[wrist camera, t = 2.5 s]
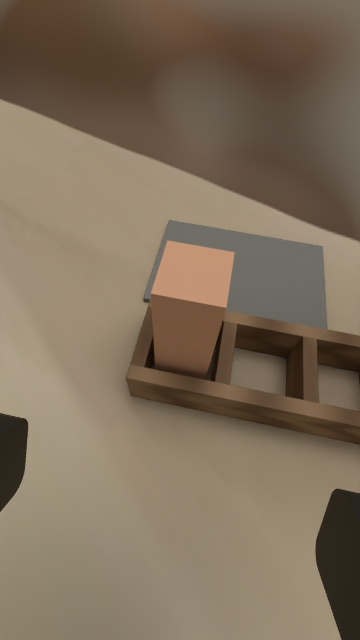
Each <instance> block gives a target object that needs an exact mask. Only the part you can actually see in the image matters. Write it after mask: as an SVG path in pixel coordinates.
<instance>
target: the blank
mask: <svg viewBox="0 0 360 640" xmlns="http://www.w3.org/2000/svg"><path fill="white" fill-rule="evenodd" d="M234 254H235V252H231V251H225V250H219V249H213V248H208V247H202V246H196V245H191V244H185V243H179V242H174V241H168V240H167V243H166V247H165V250H164V253H163V256H162V259H161V263H160V266H159V269H158V272H157V275H156V278H155V282H154V285H153V288H152V291H151V306H152V322H153V338H154V354H155V370H160V371H165V372H169V373H174V374H179V375H184V376H189V377H194V378H199V379H203V380H205V379H206V375H207V372H208V368H209V365H210V362H211V358H212V355H213V351H214V348H215V345H216V341H217V338H218V335H219V331H220V328H221V324H222V321H223V318H224V314H225V311H226V307H227V300H228V294H229V287H230V280H231V274H232V267H233V260H234Z"/></svg>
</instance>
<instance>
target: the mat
mask: <svg viewBox="0 0 360 640" xmlns="http://www.w3.org/2000/svg"><path fill="white" fill-rule="evenodd" d="M167 240H168V241H174V242H179V243H185V244H191V245H196V246H202V247H208V248H213V249H219V250H225V251H231V252H235V254H234V260H233V267H232V274H231V280H230V287H229V294H228V300H227V307H226V311H231V312H236V313H242V314H247V315H252V316H257V317H263V318H268V319H273V320H279V321H284V322H289V323H294V324H300V325H305V326H310V327H316V328H321V329H326V330H327V317H326V299H325V280H324V262H323V246H318V245H312V244H306V243H300V242H295V241H289V240H283V239H277V238H271V237H265V236H260V235H254V234H248V233H242V232H236V231H230V230H224V229H219V228H213V227H207V226H201V225H195V224H189V223H184V222H178V221H172V220H169V222H168V225H167V228H166V231H165V234H164V237H163V240H162V243H161V246H160V249H159V252H158V255H157V258H156V261H155V264H154V268H153V271H152V274H151V277H150V280H149V283H148V286H147V289H146V292H145V295H144V301H145V302H150V299H151V291H152V288H153V285H154V282H155V278H156V275H157V272H158V269H159V266H160V263H161V259H162V256H163V253H164V250H165V247H166V243H167Z"/></svg>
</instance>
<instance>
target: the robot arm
mask: <svg viewBox="0 0 360 640" xmlns="http://www.w3.org/2000/svg"><path fill="white" fill-rule="evenodd" d="M27 436H28V422H27V420H26V419H24V418H20V417H15V416H11V415H6V414H2V413H0V512H1V510H2V509H3V508H4V507H5V506H6V504H7V503H8V502H9V501H10V499H11V498H12V497H13V496H14V494H15V493H16V491H17V490H18V488H19V486H20V484H21V481H22V479H23V475H24V471H25V462H26V449H27ZM316 562H317V567H318V570H319V573H320V576H321V579H322V582H323V585H324V588H325V591H326V594H327V597H328V600H329V603H330V606H331V609H332V612H333V615H334V618H335V621H336V624H337V627H338V630H339V633H340V636H341V639H342V640H360V493H355V492H351V491H346V490H342V489H335V490H334V491H333V492H332V494H331V497H330V500H329V503H328V506H327V509H326V512H325V515H324V518H323V521H322V524H321V527H320V530H319V533H318V536H317V540H316Z"/></svg>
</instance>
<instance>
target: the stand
mask: <svg viewBox="0 0 360 640" xmlns="http://www.w3.org/2000/svg"><path fill="white" fill-rule="evenodd" d="M216 344H217V349H216V356H215V362H214V369H213V375H212V381H208V380H203V379H199V378H194V377H189V376H184V375H179V374H174V373H169V372H165V371H160V370H155V369H151V368H152V364H153V361H154V357H155V354H154V338H153V322H152V306H151V299H150V302H149V305H148V308H147V312H146V315H145V318H144V321H143V324H142V328H141V331H140V334H139V337H138V340H137V344H136V347H135V350H134V353H133V356H132V360H131V363H130V366H129V369H128V373H127V376H126V380H127V383H128V387H129V391H130V394H131V396H135V397H140V398H144V399H149V400H154V401H159V402H163V403H168V404H173V405H177V406H182V407H187V408H191V409H196V410H201V411H205V412H210V413H215V414H220V415H224V416H229V417H234V418H238V419H243V420H248V421H252V422H257V423H262V424H266V425H271V426H276V427H281V428H285V429H290V430H295V431H299V432H304V433H309V434H313V435H318V436H323V437H327V438H332V439H337V440H342V441H346V442H351V443H356V444H360V412H359V411H354V410H349V409H344V408H339V407H335V406H330V405H325V404H320V403H319V394H318V364H322V365H327V366H332V367H337V368H342V369H347V370H352V371H358V372H359V380H360V336H358V335H353V334H347V333H342V332H337V331H331V330H326V329H321V328H316V327H310V326H305V325H300V324H294V323H289V322H284V321H279V320H273V319H268V318H263V317H257V316H252V315H247V314H242V313H236V312H231V311H225V314H224V318H223V321H222V324H221V328H220V331H219V335H218V338H217V341H216ZM234 347H236V348H241V349H246V350H251V351H256V352H261V353H266V354H271V355H276V356H281V357H287V374H286V396H281V395H276V394H271V393H267V392H262V391H257V390H252V389H247V388H242V387H237V386H233V385H230V378H231V370H232V362H233V354H234Z"/></svg>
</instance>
